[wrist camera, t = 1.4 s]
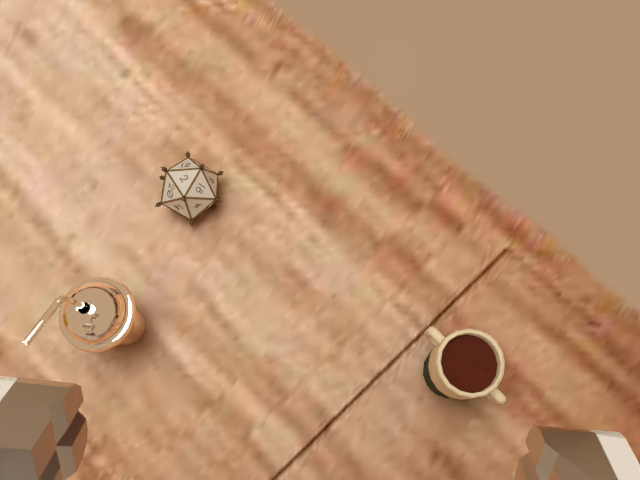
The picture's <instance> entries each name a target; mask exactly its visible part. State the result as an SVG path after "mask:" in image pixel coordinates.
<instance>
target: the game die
mask: <svg viewBox="0 0 640 480" xmlns="http://www.w3.org/2000/svg"><path fill="white" fill-rule="evenodd" d="M186 156H187V158H186V159H184V160H183V161H181V162H179V163H178V164H176V165H174V166H173V167H171V168H170V169H168V170H167V168H165V167H161V168H162V170H163V171H164V172H166V173H165V177H164V176H162V175H161V176H159V177H160V179H162V180H164V183H163V190H162V197H161V202H158V203H157V204H156V206H155V207H159V206H161V205H164V206H166V207H168V208H170V209H172V210H173V211H175V212H177V213H179V214H181V215H182V216H184V217H186V218H188V219H190V220H191V221H190V225H191V226H193V225H194V221H193V219H195V218H196V217H197V216H199V215H200V214H201V213H203V212H204V211H206V210H207V209H208V208H210V207H212V208H213V209H214V208H216V206H215V205H214V204H213V203H214V202H215V201H217V202H221V199H220V198H217V186H218V176H219V175H220V176H221V175H222V173H223V172H224V171H220V172H218V173H215V172H214V171H212V170H210V169H208V168H207V167H205V166H204V164H200V163H198V162H196V161H194V160H193V159H191V158H190V153H189V152H187V153H186Z"/></svg>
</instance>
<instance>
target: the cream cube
mask: <svg viewBox="0 0 640 480" xmlns="http://www.w3.org/2000/svg"><path fill="white" fill-rule="evenodd" d="M515 479H516V471H515V470H513V474H512V477H511V480H515Z"/></svg>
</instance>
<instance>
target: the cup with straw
mask: <svg viewBox="0 0 640 480" xmlns="http://www.w3.org/2000/svg"><path fill="white" fill-rule="evenodd" d="M60 305H61V306H60ZM59 306H60V311H59V325H60V329H61V331H62V334H63V335H64V337H65V338H66V340H67V341H68V342H69V343H70V344H72V345H73V346H74V347H76V348H77V349H79V350H82V351H85V352H93V353H95V352H103V351H106V350H109V349H111V348H113V347H115V346H116V345H129V344H132V343H134V342H136V341H137V340H139V339H140V337H141V336H142V335H143V332H144V329H145V321H144V318H143V317H142V315H141V314H140V313H139V312H138V311H137V310H136V306H135V301H134V298H133V296H132V294H131V292H130V291H129V289H128V288H127V287H126V286H125V285H124V284H122V283H121V282H119V281H117V280H115V279H112V278H108V277H94V278H90V279H86V280H84V281H82V282H80V283H78V284H77V285H76V286H74V287H73V288H72V289H71V290H70V291H69V292H68V293H67V295H62V296H59V297H58V298H57V299H56V300H55V301H54V302H53V303H52V305H51V306H50V307H49V308H48V310H47V311H46V312H45V313H44V315H43V316H42V317H41V318H40V320H39V321H38V322H37V323H36V325H35V326H34V327H33V328H32V330H31V331H30V332H29V334H28V335H27V336H26V337H25V339H24V340H23V341H22V342H23V343H25V344H27V345H30V343H31V342H32V341H33V339H34V338H35V337H36V336H37V334H38V333H39V332H40V330H41V329H42V328H43V327H44V325H45V324H46V323H47V322H48V320H49V319H50V318H51V316H52V315H53V314H54V313H55V311H56V310H57V309H58V308H59Z"/></svg>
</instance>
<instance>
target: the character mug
mask: <svg viewBox="0 0 640 480" xmlns="http://www.w3.org/2000/svg"><path fill="white" fill-rule="evenodd" d="M425 336H426V338H427V339H428V340H429V341H430V342H431V343H432V344H433V345H434V346H435V347H434V349H433V350H432V352H430V354H429V355H428V357H427V359H426V360H425V362H424V371H423V375H424V378H425V380H426V383H427V386H428V387H429V388H430V389H431V390H432V391H433V392H434V393H435V394H438V395H440V396H443V397H446V398H455V399H459V400H465V399H472V398H477V397H483V396H486V397H487V398H488V399H489V400H490V401H491V402H492V403H494V404H496V405H500V404H504V403H505V402H506V397H505V395H504V394H503V393H502V392H501V391H500V390H499V389H498V388H497V387H498V385H499V383H500V381H501V380H502V378H503V375H504V368H505V361H504V356H503V351H502V350H501V348H500V346H499V344H498V343H497V342H496V340H495V339H494V338H493V337H491V336H490V335H489V334H487V333H485V332H483V331H480V330H474V329H464V330H458V331H455V332H453V333H452V334H450V335H449V336H447V337H445V336H444V335H443V334H442V333H441V332H440V331H439V330H437V329H436V328H435V327H429V328H428V329H427V330H426V331H425Z"/></svg>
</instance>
